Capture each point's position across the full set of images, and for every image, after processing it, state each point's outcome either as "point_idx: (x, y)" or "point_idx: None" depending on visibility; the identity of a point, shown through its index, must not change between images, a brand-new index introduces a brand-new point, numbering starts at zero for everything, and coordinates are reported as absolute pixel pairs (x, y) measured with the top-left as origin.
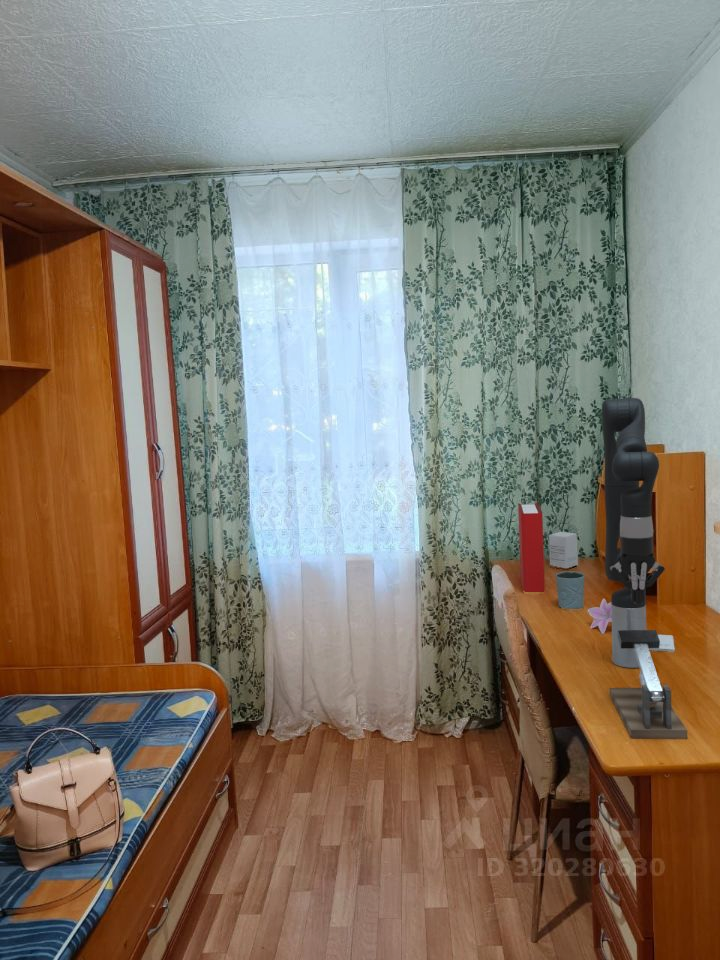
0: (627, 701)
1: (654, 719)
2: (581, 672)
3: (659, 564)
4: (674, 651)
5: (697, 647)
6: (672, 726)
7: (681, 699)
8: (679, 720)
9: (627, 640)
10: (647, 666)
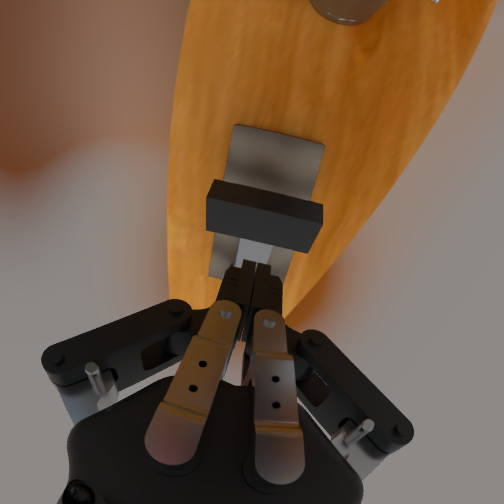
0: None
1: None
2: (227, 17)
3: (397, 448)
4: (436, 2)
5: (471, 11)
6: None
7: (350, 171)
8: (286, 268)
9: (223, 230)
10: None
